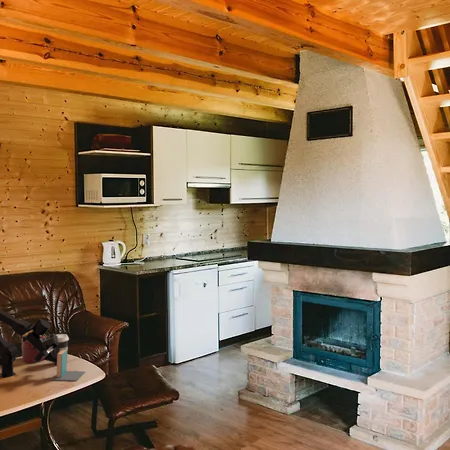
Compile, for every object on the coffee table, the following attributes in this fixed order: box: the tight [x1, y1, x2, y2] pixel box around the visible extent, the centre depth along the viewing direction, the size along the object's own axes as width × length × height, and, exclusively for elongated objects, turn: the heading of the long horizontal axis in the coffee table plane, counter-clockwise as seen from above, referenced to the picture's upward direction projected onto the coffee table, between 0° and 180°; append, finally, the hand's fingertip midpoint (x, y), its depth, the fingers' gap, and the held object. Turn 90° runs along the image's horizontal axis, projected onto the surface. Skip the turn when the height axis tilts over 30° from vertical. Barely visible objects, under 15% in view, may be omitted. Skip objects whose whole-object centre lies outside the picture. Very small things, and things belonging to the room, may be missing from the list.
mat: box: [50, 370, 86, 382], centre depth 273 cm, size 13×12×1 cm
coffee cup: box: [54, 333, 70, 366], centre depth 293 cm, size 10×10×15 cm
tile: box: [56, 350, 68, 377], centre depth 273 cm, size 2×6×12 cm, turn 174°
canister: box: [21, 330, 47, 364], centre depth 299 cm, size 13×13×18 cm
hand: (59, 363), depth 273 cm, fingers closed
